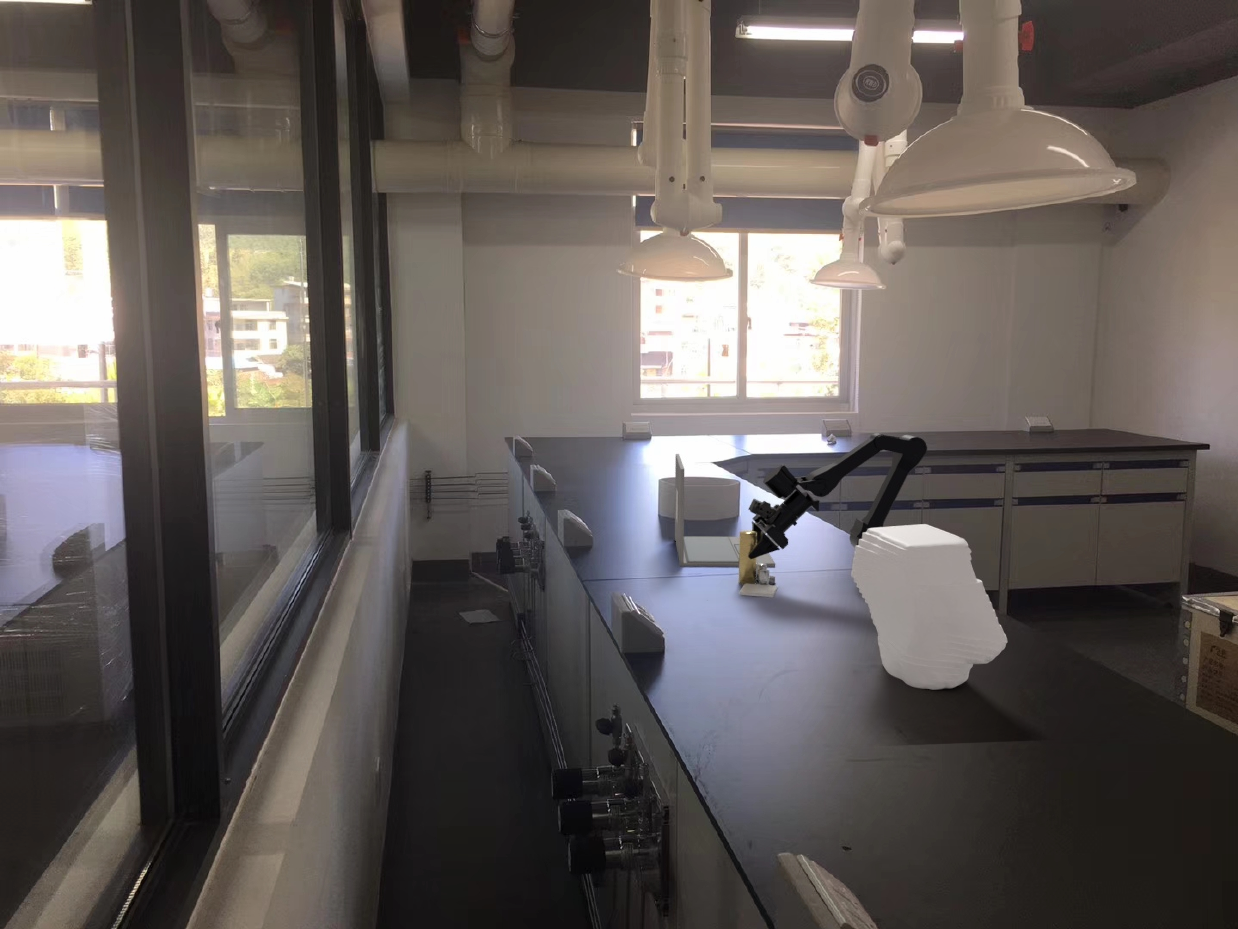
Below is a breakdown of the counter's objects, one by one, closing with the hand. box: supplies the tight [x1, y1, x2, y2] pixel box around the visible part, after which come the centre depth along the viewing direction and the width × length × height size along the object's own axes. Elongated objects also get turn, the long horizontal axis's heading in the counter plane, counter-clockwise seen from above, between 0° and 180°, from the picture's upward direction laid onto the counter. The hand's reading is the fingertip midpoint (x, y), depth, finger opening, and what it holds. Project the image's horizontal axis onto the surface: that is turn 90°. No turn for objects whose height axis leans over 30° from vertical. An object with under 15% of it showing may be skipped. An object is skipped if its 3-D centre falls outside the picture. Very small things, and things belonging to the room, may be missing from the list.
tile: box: [739, 583, 778, 598], centre depth 227 cm, size 8×8×1 cm
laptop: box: [674, 453, 776, 568], centre depth 268 cm, size 35×26×27 cm
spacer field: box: [756, 563, 776, 585], centre depth 236 cm, size 8×10×4 cm
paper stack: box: [850, 523, 1008, 691], centre depth 168 cm, size 21×27×26 cm
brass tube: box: [738, 530, 757, 586], centre depth 235 cm, size 4×4×13 cm
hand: (745, 553), depth 234 cm, fingers open, 9 cm apart
